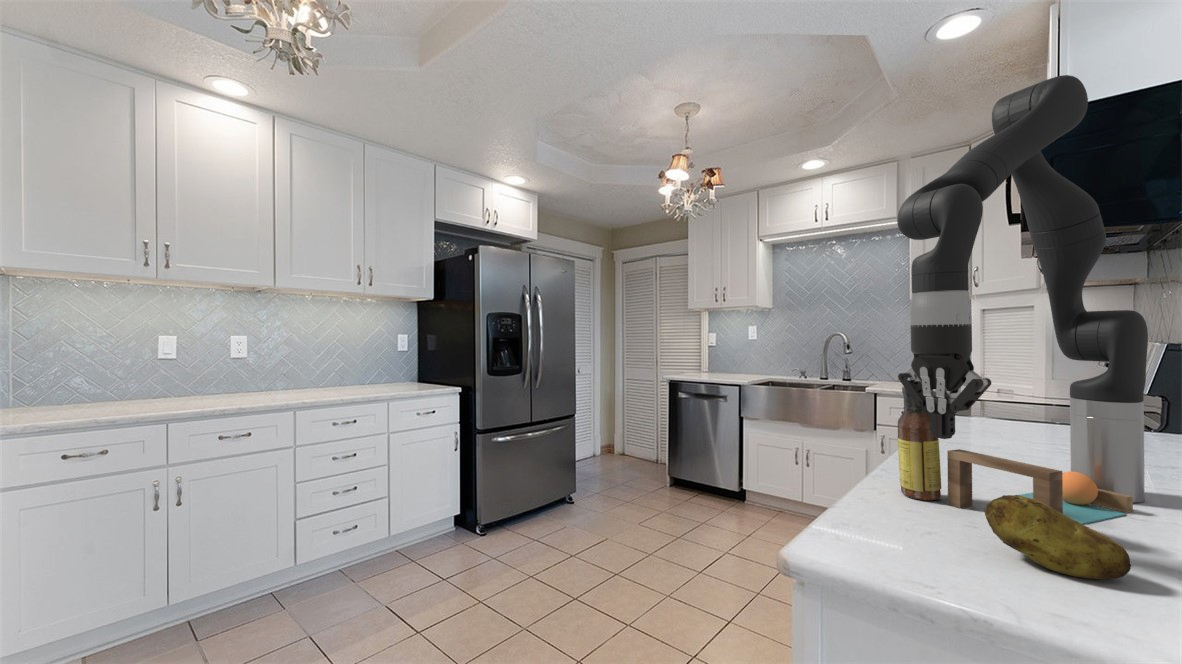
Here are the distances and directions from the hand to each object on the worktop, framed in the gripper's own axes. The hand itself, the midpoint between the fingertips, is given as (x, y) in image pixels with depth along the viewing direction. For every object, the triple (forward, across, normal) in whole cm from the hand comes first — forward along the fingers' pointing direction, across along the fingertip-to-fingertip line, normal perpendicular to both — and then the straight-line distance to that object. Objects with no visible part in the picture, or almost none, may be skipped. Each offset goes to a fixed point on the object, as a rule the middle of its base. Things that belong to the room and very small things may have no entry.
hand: (942, 437), depth 74 cm
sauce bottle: (+14, +12, -11) cm, 21 cm away
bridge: (+14, 0, -13) cm, 19 cm away
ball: (+11, 0, -31) cm, 33 cm away
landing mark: (+14, 0, -27) cm, 30 cm away
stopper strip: (+14, 0, -35) cm, 38 cm away
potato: (+14, -13, -1) cm, 19 cm away
